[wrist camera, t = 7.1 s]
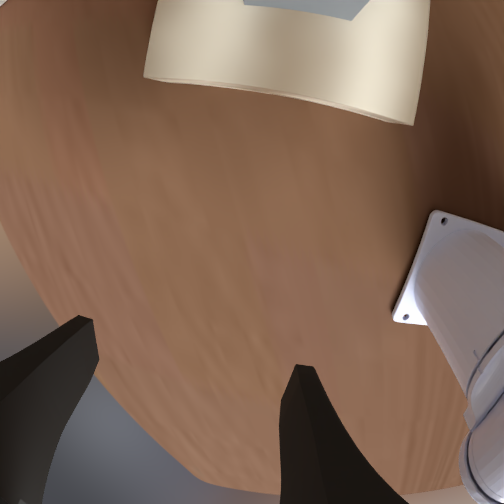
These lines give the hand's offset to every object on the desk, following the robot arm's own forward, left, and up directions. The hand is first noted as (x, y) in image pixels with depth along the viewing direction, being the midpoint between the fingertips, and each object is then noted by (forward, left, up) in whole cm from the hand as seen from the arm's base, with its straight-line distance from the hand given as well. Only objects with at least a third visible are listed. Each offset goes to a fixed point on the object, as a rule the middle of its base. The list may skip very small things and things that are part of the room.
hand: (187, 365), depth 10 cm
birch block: (-2, -15, -10) cm, 18 cm away
